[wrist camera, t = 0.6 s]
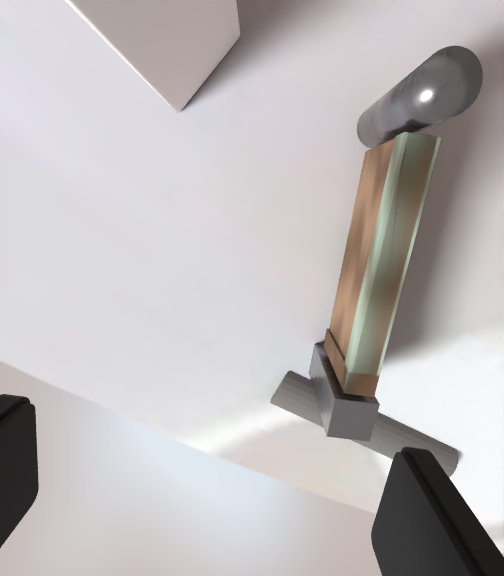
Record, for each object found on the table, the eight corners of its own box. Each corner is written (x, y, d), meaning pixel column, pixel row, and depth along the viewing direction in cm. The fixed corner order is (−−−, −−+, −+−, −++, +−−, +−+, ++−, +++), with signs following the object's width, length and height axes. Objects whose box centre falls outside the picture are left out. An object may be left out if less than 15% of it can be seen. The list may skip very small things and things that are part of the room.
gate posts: (400, 108, 25) (491, 50, 15) (340, 376, 31) (377, 458, 21) (361, 103, 25) (426, 41, 15) (309, 372, 31) (331, 452, 21)
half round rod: (286, 364, 31) (288, 374, 30) (455, 444, 33) (466, 458, 31) (266, 399, 32) (266, 410, 30) (431, 475, 34) (440, 489, 32)
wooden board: (363, 151, 24) (404, 132, 17) (389, 154, 24) (441, 136, 17) (323, 345, 29) (343, 393, 22) (345, 348, 29) (373, 397, 22)
